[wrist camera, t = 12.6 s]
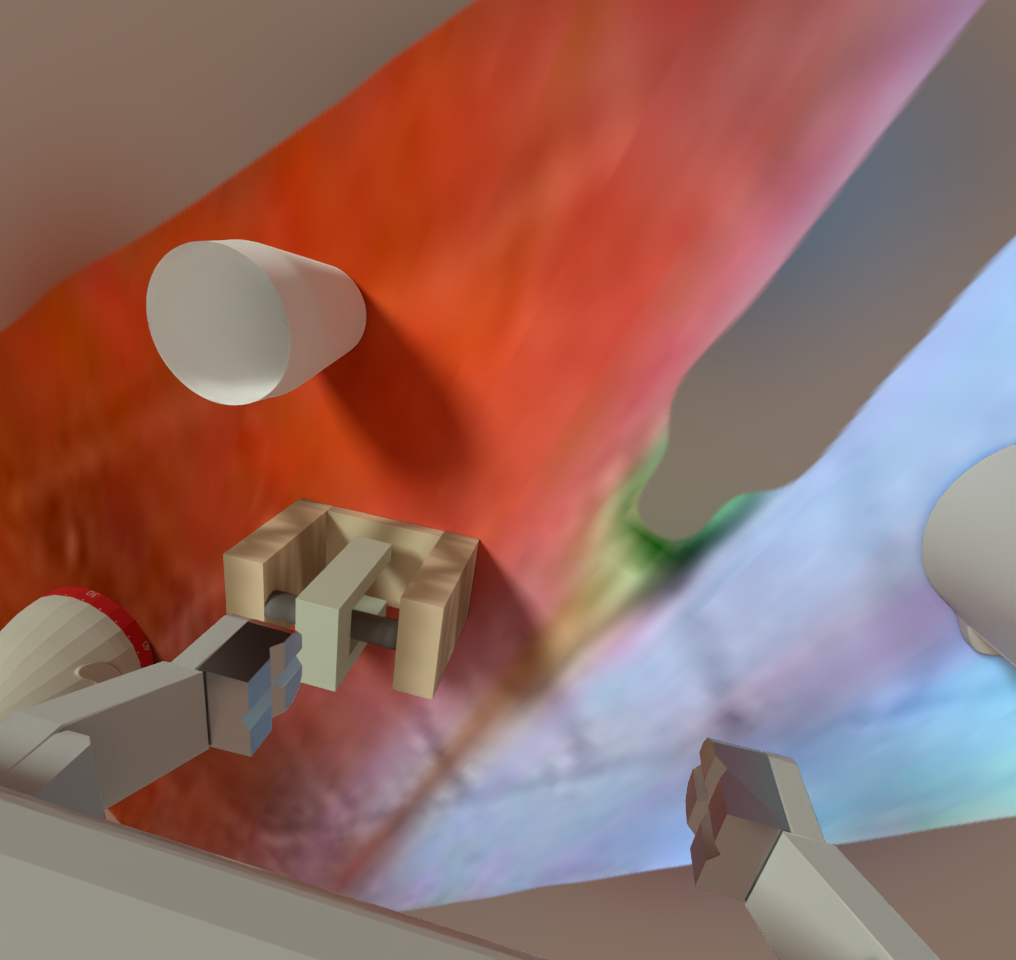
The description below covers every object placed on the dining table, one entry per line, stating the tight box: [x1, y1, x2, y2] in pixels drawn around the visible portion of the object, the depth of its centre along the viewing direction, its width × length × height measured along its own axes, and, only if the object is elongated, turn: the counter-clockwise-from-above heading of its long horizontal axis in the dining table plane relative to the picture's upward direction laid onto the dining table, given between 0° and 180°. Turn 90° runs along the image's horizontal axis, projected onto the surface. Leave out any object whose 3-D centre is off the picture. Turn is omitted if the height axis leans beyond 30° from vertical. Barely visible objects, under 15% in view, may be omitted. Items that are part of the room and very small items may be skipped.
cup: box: [146, 240, 366, 405], centre depth 35 cm, size 9×9×12 cm
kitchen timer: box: [0, 586, 154, 723], centre depth 52 cm, size 14×14×15 cm
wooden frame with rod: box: [223, 499, 479, 700], centre depth 43 cm, size 16×8×10 cm, turn 81°
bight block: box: [295, 536, 392, 692], centre depth 41 cm, size 3×7×9 cm, turn 170°
